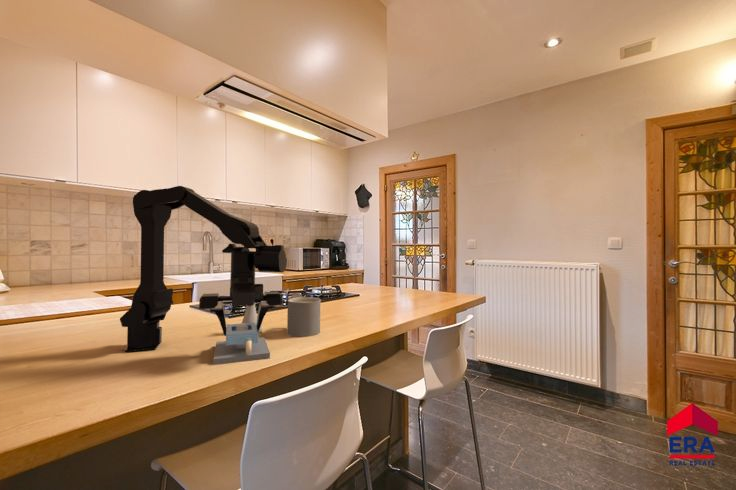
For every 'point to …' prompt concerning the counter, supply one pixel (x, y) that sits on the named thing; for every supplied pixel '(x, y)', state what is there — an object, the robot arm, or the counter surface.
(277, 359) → the counter surface
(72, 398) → the counter surface
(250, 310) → the flask
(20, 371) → the counter surface
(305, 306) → the coffee mug
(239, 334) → the flange plate
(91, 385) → the counter surface
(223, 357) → the post board
